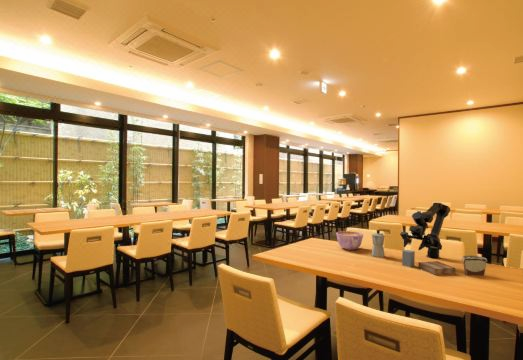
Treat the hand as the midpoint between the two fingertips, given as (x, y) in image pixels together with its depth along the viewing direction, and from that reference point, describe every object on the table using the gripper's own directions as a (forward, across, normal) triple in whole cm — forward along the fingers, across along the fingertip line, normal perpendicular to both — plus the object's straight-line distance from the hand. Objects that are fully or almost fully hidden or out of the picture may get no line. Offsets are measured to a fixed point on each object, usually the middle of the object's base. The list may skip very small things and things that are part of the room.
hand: (411, 248), depth 180 cm
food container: (0, +29, +15) cm, 32 cm away
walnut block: (+8, +15, +7) cm, 18 cm away
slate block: (+10, 0, +5) cm, 11 cm away
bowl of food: (+6, -48, +8) cm, 49 cm away
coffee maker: (+6, -24, +9) cm, 26 cm away
